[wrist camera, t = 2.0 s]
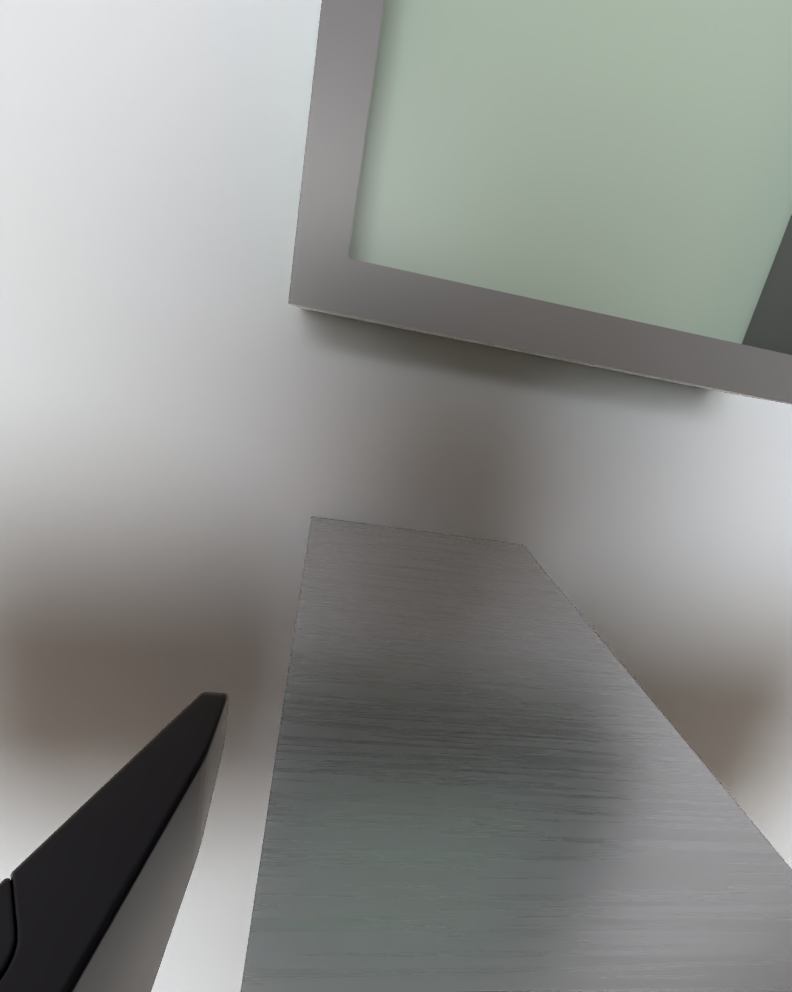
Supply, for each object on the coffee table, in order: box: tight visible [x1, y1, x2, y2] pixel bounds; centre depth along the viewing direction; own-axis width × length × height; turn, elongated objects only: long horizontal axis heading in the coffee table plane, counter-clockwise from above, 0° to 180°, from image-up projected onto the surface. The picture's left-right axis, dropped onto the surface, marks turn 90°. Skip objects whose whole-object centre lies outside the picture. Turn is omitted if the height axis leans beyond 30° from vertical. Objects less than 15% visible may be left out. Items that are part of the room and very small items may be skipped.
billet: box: [241, 517, 792, 992], centre depth 7 cm, size 6×4×7 cm, turn 169°
